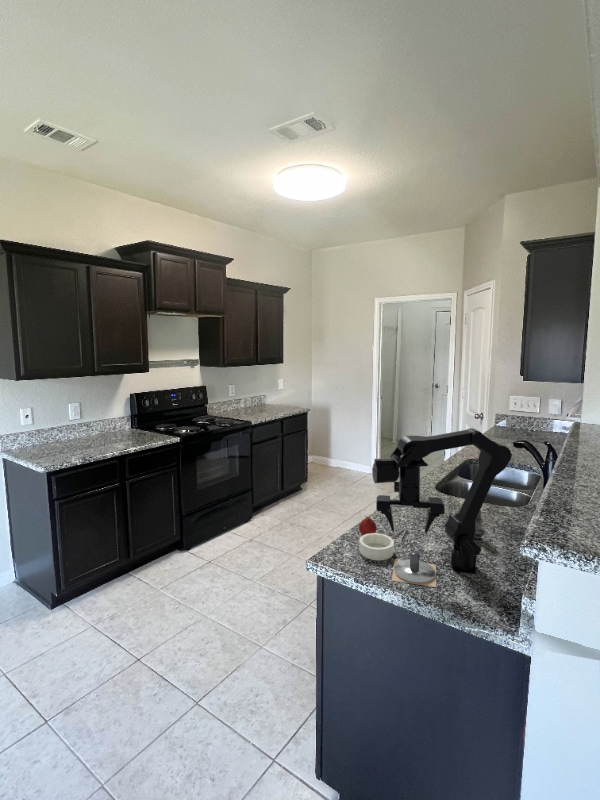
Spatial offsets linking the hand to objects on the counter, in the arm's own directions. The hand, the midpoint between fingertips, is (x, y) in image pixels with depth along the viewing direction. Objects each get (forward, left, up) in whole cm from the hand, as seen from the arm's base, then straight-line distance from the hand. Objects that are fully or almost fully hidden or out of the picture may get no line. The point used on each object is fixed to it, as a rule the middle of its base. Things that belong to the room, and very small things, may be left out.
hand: (409, 532), depth 124 cm
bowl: (+10, -8, -12) cm, 18 cm away
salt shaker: (-21, -26, -12) cm, 35 cm away
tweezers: (+3, -24, -13) cm, 27 cm away
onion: (+14, -17, -12) cm, 25 cm away
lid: (-2, +1, -12) cm, 12 cm away
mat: (-2, +1, -12) cm, 12 cm away
